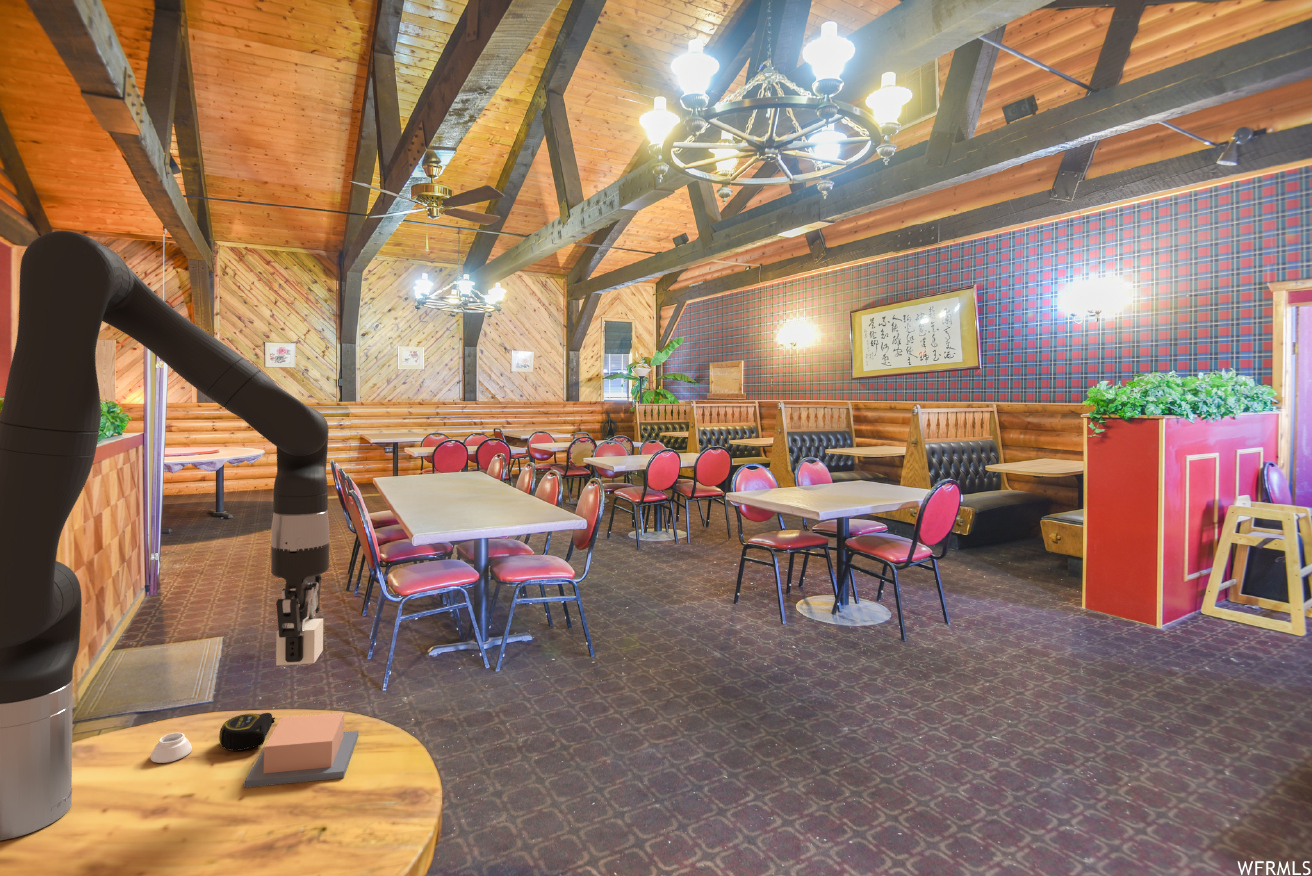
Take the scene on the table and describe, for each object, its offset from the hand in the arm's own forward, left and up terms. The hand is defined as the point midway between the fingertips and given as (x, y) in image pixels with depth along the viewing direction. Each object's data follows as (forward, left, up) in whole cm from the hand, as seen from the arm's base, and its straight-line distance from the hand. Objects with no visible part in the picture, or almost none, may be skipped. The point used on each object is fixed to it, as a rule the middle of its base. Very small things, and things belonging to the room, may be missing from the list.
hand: (300, 653), depth 95 cm
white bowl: (-19, +7, -18) cm, 28 cm away
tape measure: (-9, +10, -18) cm, 23 cm away
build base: (+1, +2, -18) cm, 18 cm away
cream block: (0, 0, -1) cm, 1 cm away
